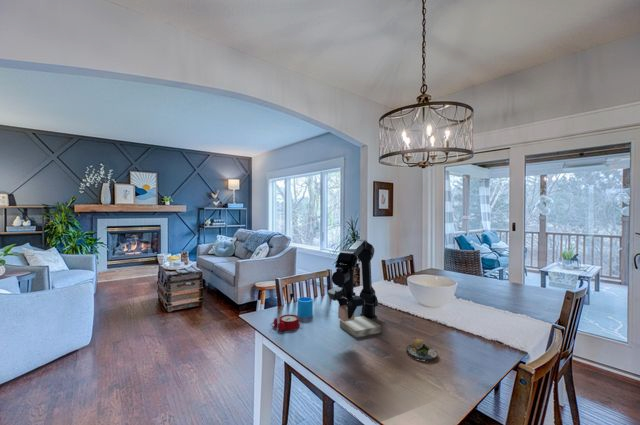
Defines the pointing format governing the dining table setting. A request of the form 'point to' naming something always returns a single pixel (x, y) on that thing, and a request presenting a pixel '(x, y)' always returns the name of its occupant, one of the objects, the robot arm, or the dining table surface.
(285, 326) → the alarm clock
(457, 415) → the dining table surface
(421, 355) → the plate of food
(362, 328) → the plinth
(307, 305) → the mug
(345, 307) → the cube
